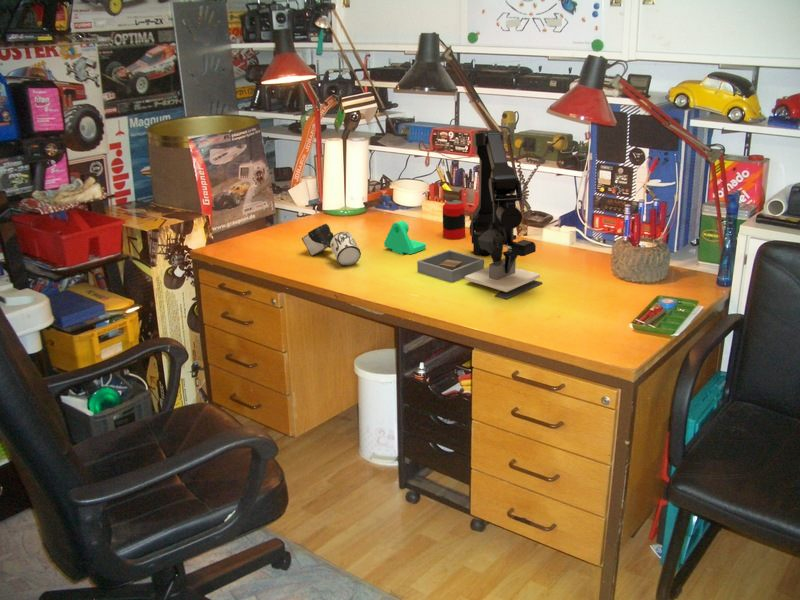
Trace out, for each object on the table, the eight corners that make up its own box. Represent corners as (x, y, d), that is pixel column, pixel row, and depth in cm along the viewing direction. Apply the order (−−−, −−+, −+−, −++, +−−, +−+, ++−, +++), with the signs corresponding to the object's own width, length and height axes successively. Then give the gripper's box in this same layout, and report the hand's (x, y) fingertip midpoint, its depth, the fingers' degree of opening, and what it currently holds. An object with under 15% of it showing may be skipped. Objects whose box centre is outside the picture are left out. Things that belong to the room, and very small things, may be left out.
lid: (498, 266, 234) (498, 250, 232) (539, 277, 223) (540, 260, 222) (464, 279, 224) (464, 262, 222) (506, 292, 214) (506, 274, 212)
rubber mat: (498, 271, 235) (498, 270, 235) (542, 283, 224) (542, 282, 224) (462, 286, 225) (462, 284, 225) (506, 299, 214) (506, 297, 214)
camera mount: (427, 251, 256) (426, 221, 252) (410, 257, 251) (409, 226, 247) (401, 244, 264) (400, 214, 260) (384, 250, 259) (383, 219, 255)
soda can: (457, 232, 274) (457, 198, 270) (469, 237, 268) (469, 202, 264) (438, 235, 271) (438, 201, 266) (450, 241, 265) (450, 206, 260)
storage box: (449, 262, 245) (449, 249, 243) (484, 272, 235) (484, 259, 234) (417, 273, 236) (417, 261, 234) (452, 284, 226) (452, 271, 225)
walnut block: (447, 267, 238) (447, 259, 237) (462, 269, 236) (462, 261, 235) (439, 272, 234) (439, 264, 233) (454, 274, 232) (454, 266, 231)
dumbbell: (369, 264, 246) (367, 233, 242) (343, 272, 240) (341, 240, 236) (323, 246, 264) (321, 217, 261) (298, 253, 258) (295, 224, 255)
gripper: (458, 218, 218) (458, 271, 224) (511, 231, 206) (510, 287, 212) (484, 210, 226) (484, 262, 231) (537, 221, 213) (536, 276, 219)
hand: (502, 271), depth 223 cm, fingers closed on lid, 3 cm apart
